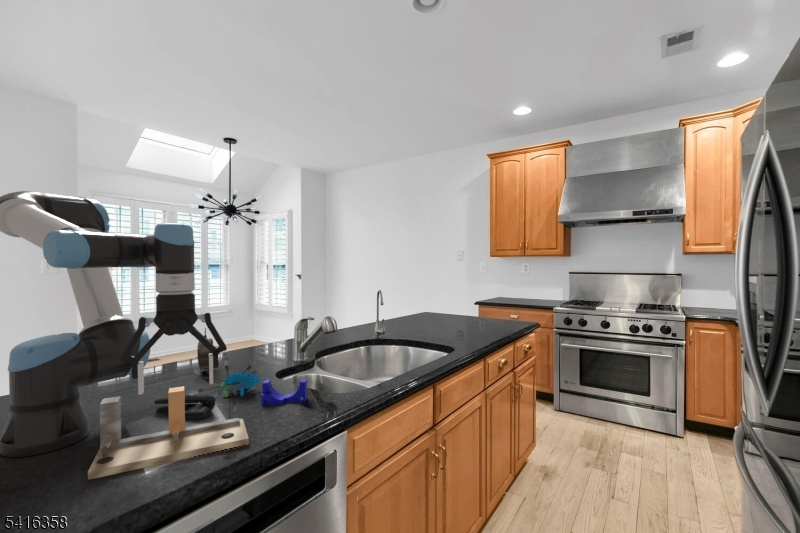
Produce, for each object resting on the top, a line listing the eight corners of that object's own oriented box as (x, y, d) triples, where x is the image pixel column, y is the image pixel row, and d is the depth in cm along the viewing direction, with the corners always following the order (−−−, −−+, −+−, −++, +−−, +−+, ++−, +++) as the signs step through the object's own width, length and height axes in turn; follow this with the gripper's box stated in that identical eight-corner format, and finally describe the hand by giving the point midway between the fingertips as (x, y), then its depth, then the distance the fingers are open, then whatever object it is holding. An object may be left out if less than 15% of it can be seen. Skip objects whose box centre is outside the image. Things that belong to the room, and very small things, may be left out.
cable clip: (261, 405, 108) (261, 384, 108) (265, 400, 112) (265, 379, 112) (304, 404, 108) (304, 383, 108) (307, 399, 113) (306, 378, 113)
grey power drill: (212, 374, 137) (212, 329, 136) (195, 376, 135) (195, 330, 134) (214, 366, 147) (214, 324, 147) (199, 368, 145) (198, 325, 145)
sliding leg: (167, 444, 79) (166, 399, 79) (169, 428, 87) (169, 388, 87) (183, 440, 81) (183, 397, 81) (184, 426, 88) (184, 386, 88)
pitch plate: (87, 479, 71) (87, 418, 71) (101, 451, 81) (101, 397, 81) (248, 445, 84) (248, 393, 84) (242, 424, 95) (242, 378, 95)
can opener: (222, 411, 103) (222, 391, 103) (203, 422, 97) (203, 400, 97) (166, 406, 107) (166, 386, 107) (145, 416, 100) (145, 395, 100)
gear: (262, 382, 123) (255, 366, 116) (262, 399, 119) (255, 384, 112) (226, 389, 121) (216, 374, 113) (225, 407, 117) (215, 392, 109)
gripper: (102, 297, 76) (104, 403, 76) (237, 291, 88) (239, 382, 88) (109, 294, 83) (112, 392, 83) (234, 289, 95) (236, 374, 95)
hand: (177, 387), depth 86 cm, fingers open, 13 cm apart
